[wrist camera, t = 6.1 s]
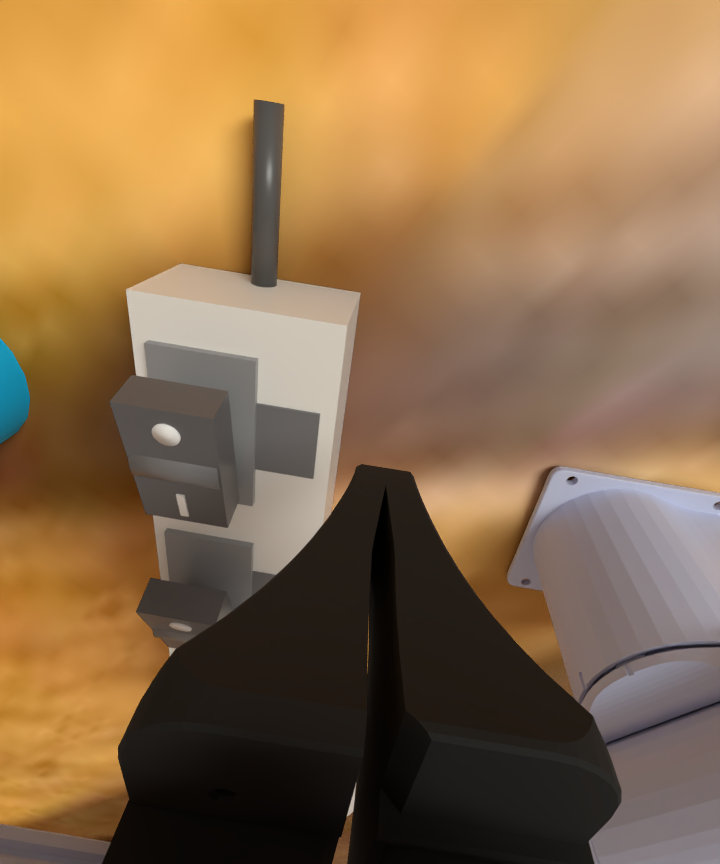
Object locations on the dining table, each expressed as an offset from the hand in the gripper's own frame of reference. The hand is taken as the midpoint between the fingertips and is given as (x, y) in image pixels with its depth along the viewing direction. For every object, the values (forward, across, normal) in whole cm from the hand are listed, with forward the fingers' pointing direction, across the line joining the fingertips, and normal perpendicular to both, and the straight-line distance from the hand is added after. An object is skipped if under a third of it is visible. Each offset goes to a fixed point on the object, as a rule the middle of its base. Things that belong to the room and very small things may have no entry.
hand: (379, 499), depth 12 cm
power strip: (+10, +6, +9) cm, 15 cm away
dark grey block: (+4, +7, +3) cm, 8 cm away
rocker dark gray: (+4, +7, +12) cm, 14 cm away
